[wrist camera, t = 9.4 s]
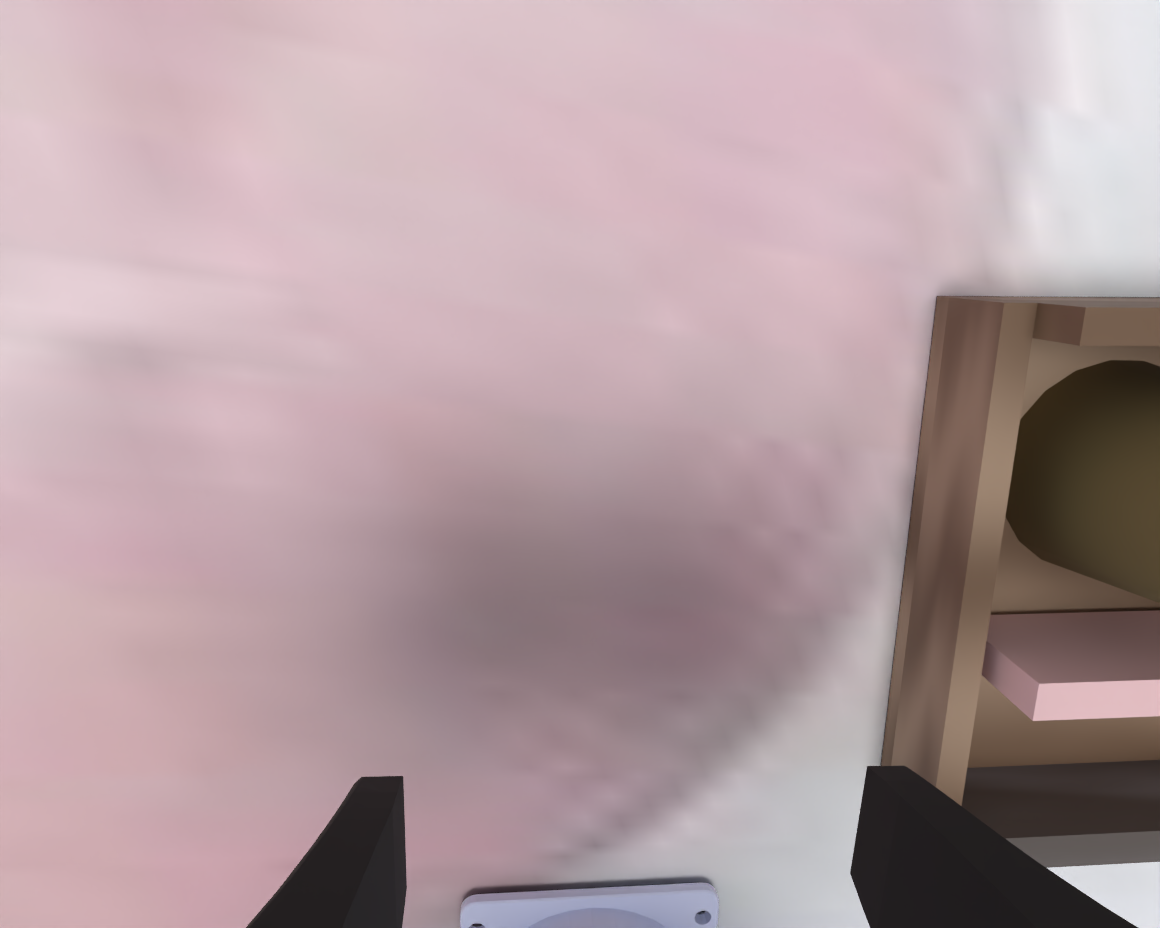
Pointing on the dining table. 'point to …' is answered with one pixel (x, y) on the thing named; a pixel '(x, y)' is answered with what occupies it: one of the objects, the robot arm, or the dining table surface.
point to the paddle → (1076, 663)
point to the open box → (1011, 592)
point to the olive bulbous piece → (1093, 476)
